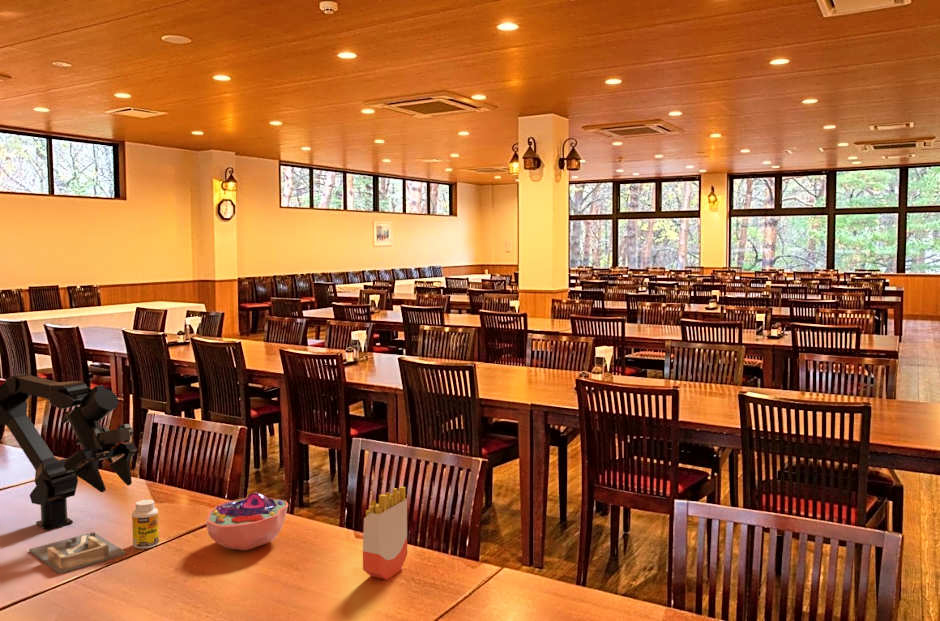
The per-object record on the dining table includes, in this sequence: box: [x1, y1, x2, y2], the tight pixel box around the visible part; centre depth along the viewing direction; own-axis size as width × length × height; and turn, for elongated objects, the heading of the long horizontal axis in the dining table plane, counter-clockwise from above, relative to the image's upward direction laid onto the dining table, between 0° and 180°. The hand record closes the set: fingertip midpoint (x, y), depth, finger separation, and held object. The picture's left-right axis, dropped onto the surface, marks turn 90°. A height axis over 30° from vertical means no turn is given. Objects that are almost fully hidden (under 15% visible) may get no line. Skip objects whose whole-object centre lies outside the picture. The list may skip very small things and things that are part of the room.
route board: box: [28, 531, 127, 575], centre depth 175 cm, size 18×14×2 cm
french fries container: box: [362, 486, 408, 581], centre depth 164 cm, size 5×11×18 cm, turn 154°
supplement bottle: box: [131, 499, 160, 550], centre depth 179 cm, size 6×6×10 cm
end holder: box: [48, 536, 109, 570], centre depth 171 cm, size 8×10×2 cm
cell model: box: [206, 491, 289, 551], centre depth 179 cm, size 17×20×11 cm
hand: (117, 488), depth 182 cm, fingers open, 9 cm apart
